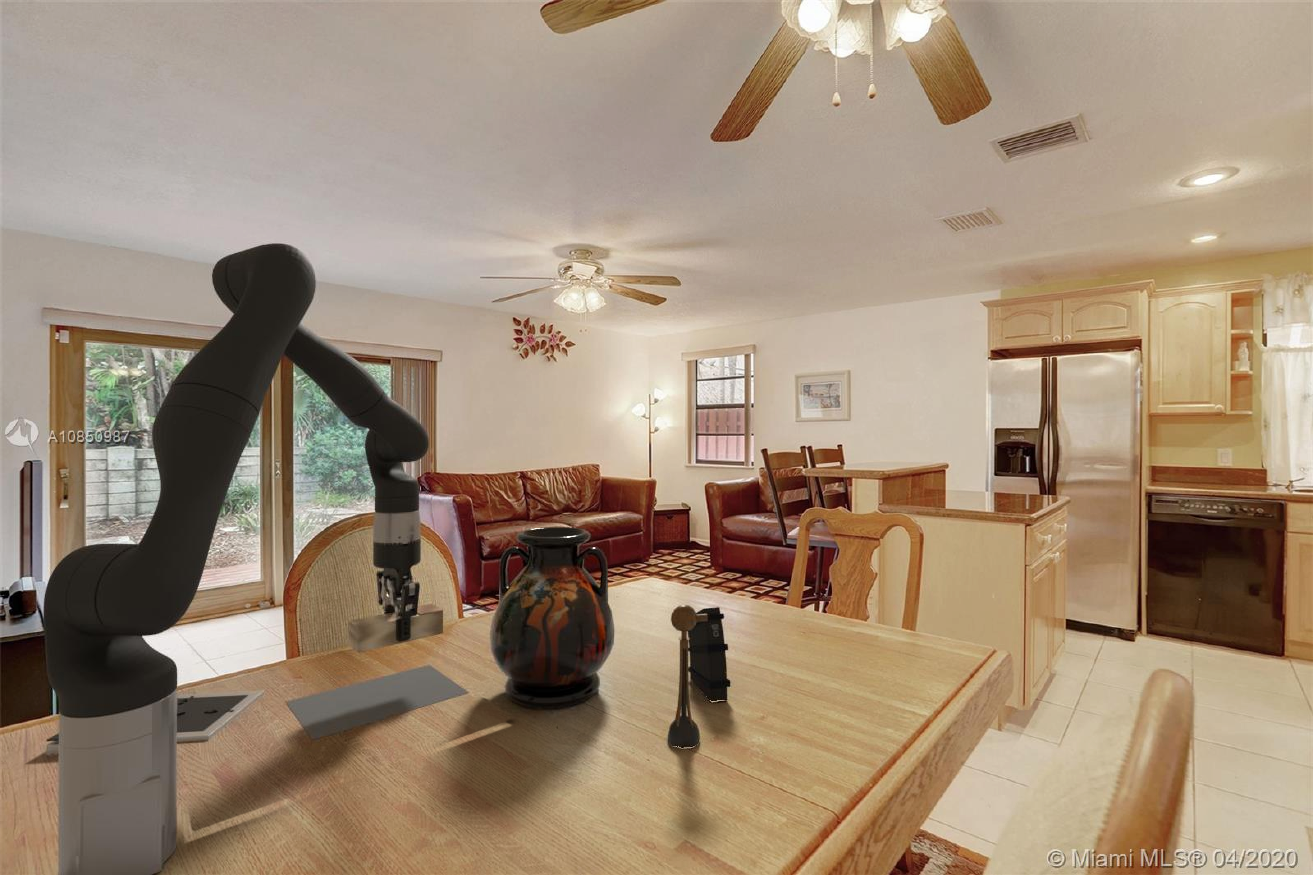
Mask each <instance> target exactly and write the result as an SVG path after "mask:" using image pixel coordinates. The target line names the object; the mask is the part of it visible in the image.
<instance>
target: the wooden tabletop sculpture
mask: <svg viewBox="0 0 1313 875" xmlns="http://www.w3.org/2000/svg"><path fill="white" fill-rule="evenodd" d="M696 613H697V612H696V610H695V609H694V608H693V607H692V606H690V605H688V604H681V605H678V606H677V607H676V608H674V609H673V611H672V613H671V614H670V615H671V616H670V623H671V624H672V626H673V628H674V629H675V630H676V631H679V632H680V633H681V635H680V637H678V641H679V676H678V677H679V682H678V683H679V684H678V697H677V706H676V713H675V718H674V719H673V721H672V722H671V723H670V725H669V729H668V733H667V743H668V742H669V743H670V744H671V745H672V746H677V747H678V746H679V747H681V748H684V747H693V746H695V745H697V744H698V743H699V744H700V742H699V740H700V741H701V737H700V736H701V735H700V729H699V726H698V724H697V723H696V722H695V721H694V719H692V713H691V712H692V711H691V703H690V701H691V700H690V685H689V684H690V682H689V681H690V680H689V679H690V675H689V671H688V667H689V651H688V648H689V639H690V638H688V632H687V631H690V630H692V629H693V628H694V627H695V625H696V622H703V621H708V616H707V614H696ZM669 743H668V744H669ZM670 744H669V745H670ZM671 745H670V746H671ZM672 746H671V747H672ZM697 746H698V745H697Z"/></svg>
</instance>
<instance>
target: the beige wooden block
mask: <svg viewBox="0 0 1313 875" xmlns="http://www.w3.org/2000/svg"><path fill="white" fill-rule="evenodd" d="M442 634H444V609H443V608H440V607H439V606H438V605H437V606H436V605H435V604H433V603H428V604H423V605H418V609H417V615H416V616H412V617H411V637H410V639H409V640H405V641H401V642H399V641H397V640H396V614H395V612H393V613H388V614H384V613H383V614H379V615H378V614H377V615H373V616H367V617H363V618H356V619H352V620H348V645H349V646H350V647H351V648H352V649H353V650H354V651H355V652H357V653H364V652H368V651H372V650H377V649H380V648H385V647H390V646H394V645H399V644H403V643H406V642H407V643H408V642H412V641H416V640H419V639H424V638H429V637H433V636H438V635H442Z"/></svg>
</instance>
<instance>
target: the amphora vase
mask: <svg viewBox="0 0 1313 875" xmlns="http://www.w3.org/2000/svg"><path fill="white" fill-rule="evenodd" d="M515 539H516V541H518V543H520V544H521V545H525V546H526V548H527V550H524V549H523V548H522V547H521V546H514V545H513V546H509V547H508V548H506V549H505V550H504V552H503V554H502V556H501V558H500V559H499V560H500V561H499V562H500V563H499V569H498V570H499V574H498V576H499V577H498V578H499V595H498V599H499V600H498V604H497V607H496V609H495V612H494V614H493V616H492V619H491V625H490V631H489V641H490V642H489V643H490V644H489V646H490V650H491V654H492V657H493V659H494V662H495V664H496V665H497V667H498V668H499V669H500V671H501V672H502V673H503V674H504V675H505V676H506V677H508V678H507V680H506V681H505V685H504V690H505V691H504V692H505V694H506V696H507V697H508V698H509V699H510V700H512V701H513V702H514V703H515V704H518V705H521V706H525V707H528V708H531V709H532V708H533V709H543V710H544V709H559V708H566V707H570V706H575V705H577V704H579V703H582V702H584V701H587V700H589V699H590V698H591V697H592V696H594V695H595V694H596V692H597V691H598V689H599V688H600V685H601V678H600V676H599V674H598V671H600V669H602V667H603V665H604V664H605V663H606V661H607V660H608V659H609V656H610V655H611V653H612V650H613V647H614V644H615V624H614V616H613V612H612V609H611V607H610V604H609V579H608V578H609V576H608V575H609V573H608V561H607V560H608V559H607V557H606V556H605V553H604V551H603V550H602V549H600V548H598V547H597V546H596V547H595V546H591V547H587V548H585V549H584V550H582V551H581V552H580V553H579V551H580V546H581V545H582V544H584V543H586V542H588V541H589V540H590V539H591V533H590V532H589V531H587V530H586V529H582V528H576V527H566V526H565V527H560V526H559V527H557V526H556V527H554V526H553V527H540V528H539V527H537V528H531V529H526V530H522V531H521V532H519V533H517V535H516V536H515ZM513 554H515V555H518V556H519V558H521V560H522V564H523V566H522V567H523V569H522V570H521V571H520V572H519V573H518V575H517V576H516V577H514V579H513V580H512V581H511V582H510V583H509V579H508V566H509V561H510V560H509V559H510V557H511V555H513ZM589 555H594V556H595V557H596V558H597V560H598V562H599V567H600V582H599V584H600V585H599V584H598V582H597V581H596V580H595V578H594V577H593V576H592V575H591V573H589V571H587V569H586V568H585V567H584V564H585V558H586V557H587V556H589Z"/></svg>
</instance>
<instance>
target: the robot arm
mask: <svg viewBox="0 0 1313 875" xmlns="http://www.w3.org/2000/svg"><path fill="white" fill-rule="evenodd" d="M316 280H317V278H316V274H315V270H314V267H313V265H312V263H311V261H310V259H309V258H308V257H307V255H306V254H305V253H304V252H303V251H302V250H300V249H298V247H294V246H293V245H290V244H286V243H275V242H274V243H273V242H272V243H265V244H261V245H257V246H254V247H251V248H247V249H244V250H241V251H238V252H234V253H232V254H228V255H226V256H224V257H222V258H221V259H219V260H218V261H217V262H216V263H215V265H214V267H213V269H212V273H211V281H212V285H213V288H214V291H215V293H216V296H217V297H218V298H219V300H220V301H221V302H222V303H223V305H224V306H225V307H226V308H227V309H228V310H229V311H230V312H231V313H232V316H231V318H230V319H229V320H228V322H227V323H226V324H225V325H224V326H223V327H222V328H221V329H220V331H219V332H217V333H216V334H215V335H214V337H212V338H211V339H210V340H209V341H208V342H207V343H206V344H204V346H203V347H202V348H201V349H200V350H199V351H198V352H197V353H196V354H195V355H194V356H193V357H192V358H190V360H189V361H188V362H187V363H186V365H185V366H184V367H182V369H181V370H180V371H179V373H178V374H177V375H176V377H175V378H174V380H173V382H172V384H171V385H170V387H169V389H168V391H167V394H166V396H165V398H164V399H163V401H162V403H161V406H160V408H159V410H158V411H157V413H156V416H155V418H154V421H153V425H152V430H151V431H152V432H151V437H152V438H151V439H152V440H151V441H152V447H153V453H154V456H155V460H156V461H155V462H156V466H157V470H158V475H159V480H160V491H159V497H158V500H157V505H156V508H155V509H154V512H153V515H152V518H151V520H150V522H149V524H148V527H147V529H146V530H145V532H144V534H143V536H142V537H141V539H140V541H139V542H138V543H96V544H89V545H85V546H82V547H79V548H77V549H74V550H73V551H71V552H70V553H68V554H67V555H66V556H64V557H63V558H62V559H61V560H60V561H59V562H58V563H57V565H56V566H55V568H54V569H53V571H52V572H51V574H50V575H49V576H50V577H49V578H48V580H47V584H46V588H45V591H44V597H43V613H42V614H43V630H44V631H43V632H44V643H45V658H46V660H45V661H46V672H47V673H46V674H47V679H48V683H49V684H50V686H51V688H52V690H53V691H54V692H55V694H56V696H57V698H58V699H57V700H58V733H59V755H58V782H57V783H58V787H57V788H58V792H57V793H58V794H57V795H58V796H57V797H58V801H57V802H58V808H57V809H58V811H57V812H58V813H57V814H58V815H57V816H58V818H57V819H58V821H57V822H58V825H57V826H58V827H57V831H58V833H57V837H58V838H57V844H58V847H57V848H58V861H57V862H58V870H57V871H58V872H57V873H58V875H154V874H157V873H159V872H161V871H163V864H164V863H165V862H166V861H167V860H168V859H169V858H170V857H171V856H172V855H173V854H174V852H175V850H176V848H177V844H178V841H177V840H178V839H177V838H178V832H177V831H178V830H177V829H178V826H177V825H178V824H177V823H178V821H177V820H178V806H177V803H178V802H177V800H178V799H177V797H178V795H177V793H178V786H177V781H178V780H177V779H178V778H177V777H178V770H177V769H178V767H177V766H178V764H177V763H178V762H177V761H178V755H177V754H178V753H177V752H178V742H177V695H178V666H177V664H176V662H175V661H174V659H172V658H171V657H169V656H168V655H166V654H164V653H161V652H159V651H158V650H157V649H155V648H153V647H152V646H151V645H150V644H148V642H147V641H146V640H145V638H144V637H145V636H146V637H149V636H155V635H159V634H162V633H164V632H166V631H168V630H170V629H171V628H172V627H173V626H175V625H176V624H177V623H178V622H179V621H180V620H181V619H182V618H183V616H184V615H185V614H186V613H187V611H188V609H189V608H190V605H192V602H193V601H194V598H195V596H196V594H197V592H198V589H199V587H200V583H201V580H202V577H203V573H204V569H205V567H206V563H207V559H208V557H209V556H208V555H209V552H210V548H211V545H212V541H213V537H214V534H215V531H216V527H217V523H218V521H219V520H218V519H219V517H220V513H221V510H222V508H223V505H224V502H225V498H226V496H227V493H228V490H229V489H230V485H231V482H232V480H233V478H234V474H235V472H236V469H237V468H238V465H239V462H240V460H241V457H242V454H243V453H244V450H245V448H246V447H247V444H248V441H249V440H250V439H251V438H250V437H251V435H252V432H253V429H254V428H255V426H256V422H257V420H258V418H259V416H260V413H261V410H262V406H263V404H264V401H265V399H266V396H267V393H268V391H269V388H270V386H271V384H272V382H273V379H274V377H275V374H276V372H277V370H278V367H279V365H280V363H281V360H282V358H283V356H284V357H285V358H287V359H288V360H289V361H290V362H291V363H292V364H294V365H295V366H296V367H297V368H298V369H300V370H301V371H302V372H303V373H304V374H305V375H306V376H307V377H308V378H310V379H311V381H312V382H314V383H315V384H316V385H317V386H318V387H319V388H320V389H321V391H323V393H324V394H325V395H327V397H328V398H329V399H330V400H331V402H332V403H334V405H335V406H336V407H337V408H338V409H339V410H340V411H341V414H343V415H344V416H345V418H347V420H349V421H350V422H351V423H352V424H354V425H355V426H357V427H360V428H363V429H364V428H365V429H367V430H368V431H367V434H366V436H365V442H364V452H365V456H366V460H367V465H368V468H369V473H370V477H371V481H372V482H373V485H374V486H373V487H374V517H373V525H372V526H373V527H372V528H373V529H372V564H373V566H374V567H376V568H377V569H382V570H377V571H376V575H375V576H376V585H377V596H378V597H377V598H378V605H379V606H381V610H382V611H383V614H388V613H393V612H395V614H396V640H397V641H399V642H401V641H405V640H409V639H410V637H411V617H412V616H416V615H417V609H418V606H419V596H420V588H421V587H420V586H421V585H420V581H417V582H414V578H413V575H412V570H411V569H412V567H415V566H417V565H418V564H420V563H421V561H422V560H421V559H422V558H421V556H422V552H421V551H422V549H421V548H422V541H421V540H422V535H421V534H422V533H421V532H422V530H421V529H422V525H421V524H422V523H421V522H422V521H421V516H420V484H419V481H418V480H417V478H415V477H413V476H411V475H408V474H407V473H406V471H405V470H404V466H403V463H413V462H414V463H415V462H417V461H420V460H422V458H423V457H424V456H425V455H426V454H427V452H428V450H429V444H430V443H429V442H430V441H429V440H430V439H429V436H428V433H427V431H426V429H425V427H424V425H423V424H422V423H421V422H420V421H419V420H418V419H417V418H416V417H415V416H414V415H413V414H412V413H410V412H409V411H408V410H407V409H406V408H404V407H403V406H402V405H400V404H399V403H398V402H396V401H395V400H393V399H392V398H391V397H389V395H388V394H387V393H386V391H385V390H384V389H383V388H382V386H381V385H380V384H379V382H377V380H376V379H375V378H374V377H373V375H372V374H371V373H370V372H369V370H367V368H366V367H365V366H364V365H363V364H361V362H359V361H358V360H357V359H355V357H353V356H352V355H350V354H349V353H347V352H345V351H343V350H342V349H340V348H338V347H337V346H335V344H332V343H331V342H329V341H327V340H325V339H324V338H323V337H321V336H320V335H318V334H317V333H316V332H314V331H313V330H311V329H310V328H309V327H307V325H306V324H304V323H303V322H302V321H303V318H304V317H305V316H306V313H307V311H308V310H309V308H310V306H311V304H312V303H313V300H314V297H315V292H316V286H317V281H316Z"/></svg>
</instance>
